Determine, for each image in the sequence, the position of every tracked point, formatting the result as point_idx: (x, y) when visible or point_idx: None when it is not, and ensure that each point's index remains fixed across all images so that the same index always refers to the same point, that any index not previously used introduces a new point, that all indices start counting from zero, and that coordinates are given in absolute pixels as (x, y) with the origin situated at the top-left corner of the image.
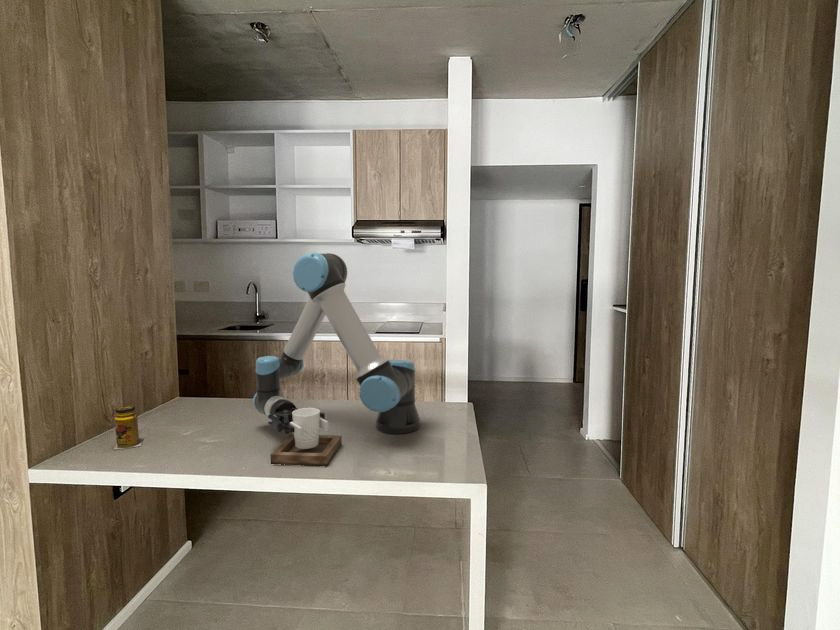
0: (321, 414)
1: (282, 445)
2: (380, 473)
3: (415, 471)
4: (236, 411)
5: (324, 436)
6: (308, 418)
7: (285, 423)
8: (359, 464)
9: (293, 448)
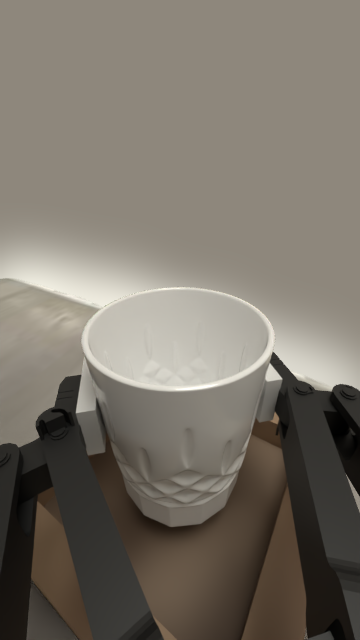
0: (16, 451)
1: None
2: (78, 321)
3: (26, 310)
4: None
5: (45, 544)
6: (184, 300)
7: (307, 384)
8: (80, 358)
9: (239, 573)
